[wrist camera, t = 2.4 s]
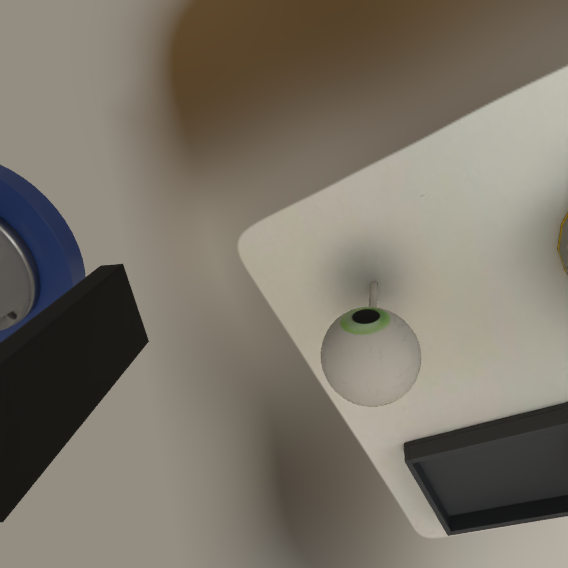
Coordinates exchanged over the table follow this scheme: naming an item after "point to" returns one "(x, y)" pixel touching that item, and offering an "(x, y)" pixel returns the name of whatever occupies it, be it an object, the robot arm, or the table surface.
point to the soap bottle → (564, 243)
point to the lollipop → (370, 355)
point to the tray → (495, 471)
